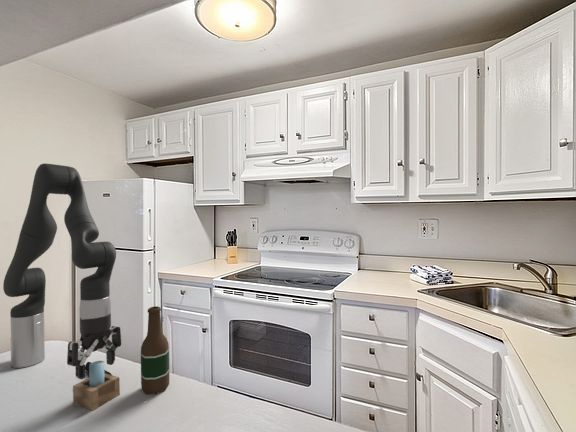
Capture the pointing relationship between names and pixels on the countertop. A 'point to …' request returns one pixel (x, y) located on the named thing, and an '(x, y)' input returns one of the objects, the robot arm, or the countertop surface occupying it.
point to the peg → (96, 373)
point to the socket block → (96, 392)
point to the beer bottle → (154, 356)
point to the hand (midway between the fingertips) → (96, 370)
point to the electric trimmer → (88, 368)
